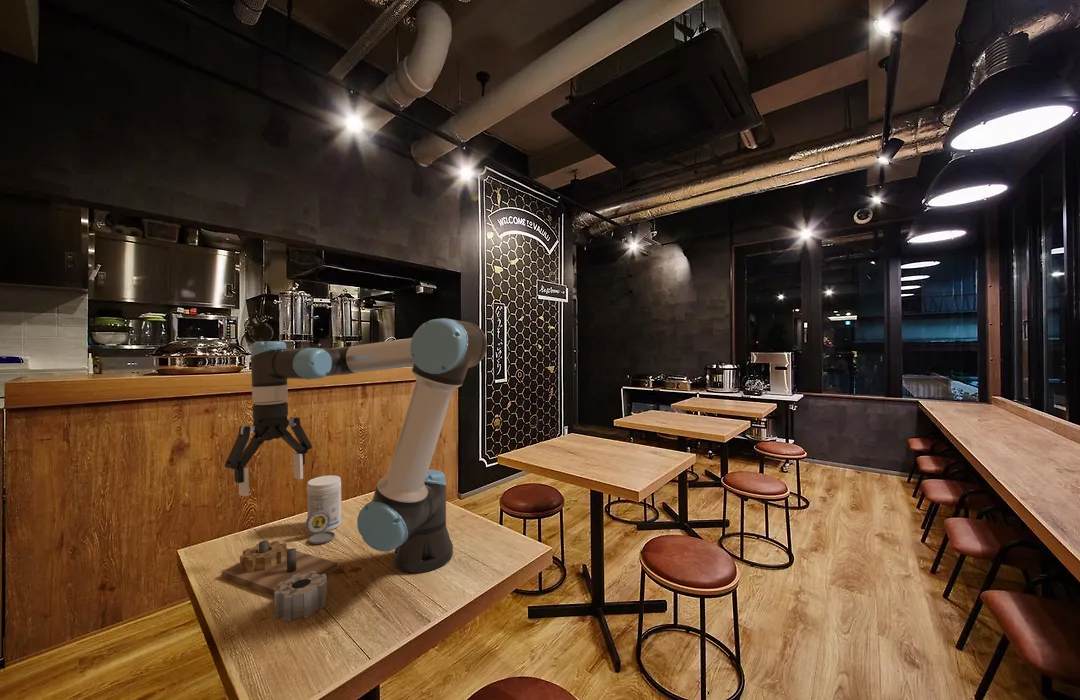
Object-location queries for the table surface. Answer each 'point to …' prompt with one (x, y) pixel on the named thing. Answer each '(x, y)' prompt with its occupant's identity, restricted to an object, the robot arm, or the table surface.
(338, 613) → the table surface
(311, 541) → the pocket watch
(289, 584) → the steel gear
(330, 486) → the supplement tub
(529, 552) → the table surface
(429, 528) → the robot arm
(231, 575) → the gear board
